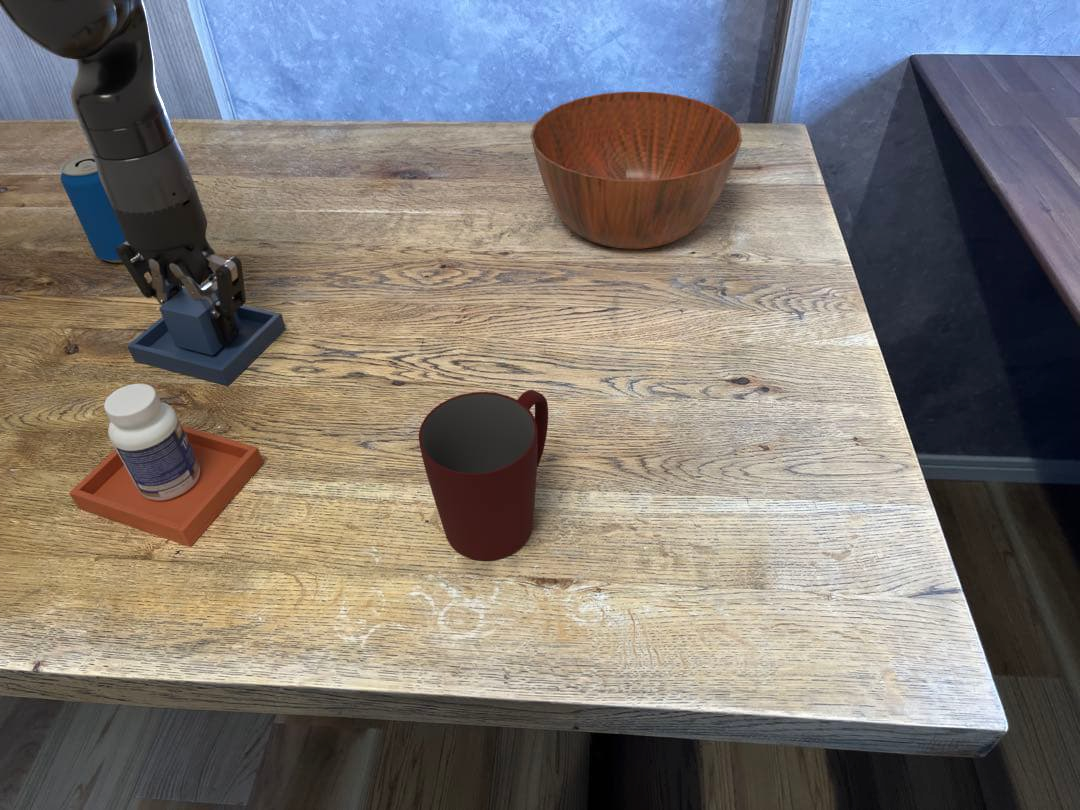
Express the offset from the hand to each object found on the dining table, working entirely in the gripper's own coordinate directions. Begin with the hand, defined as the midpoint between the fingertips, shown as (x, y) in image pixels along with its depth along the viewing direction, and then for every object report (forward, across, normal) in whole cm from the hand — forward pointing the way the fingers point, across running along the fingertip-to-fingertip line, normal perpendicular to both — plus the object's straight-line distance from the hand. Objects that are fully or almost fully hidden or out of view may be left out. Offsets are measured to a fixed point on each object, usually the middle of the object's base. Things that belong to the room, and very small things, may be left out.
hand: (208, 334), depth 87 cm
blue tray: (+1, 0, 0) cm, 1 cm away
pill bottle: (+1, +10, -18) cm, 20 cm away
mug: (+2, +39, -11) cm, 40 cm away
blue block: (0, 0, 0) cm, 0 cm away
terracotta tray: (+1, +10, -18) cm, 21 cm away
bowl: (+2, +35, +40) cm, 53 cm away
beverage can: (+2, -23, +12) cm, 26 cm away
